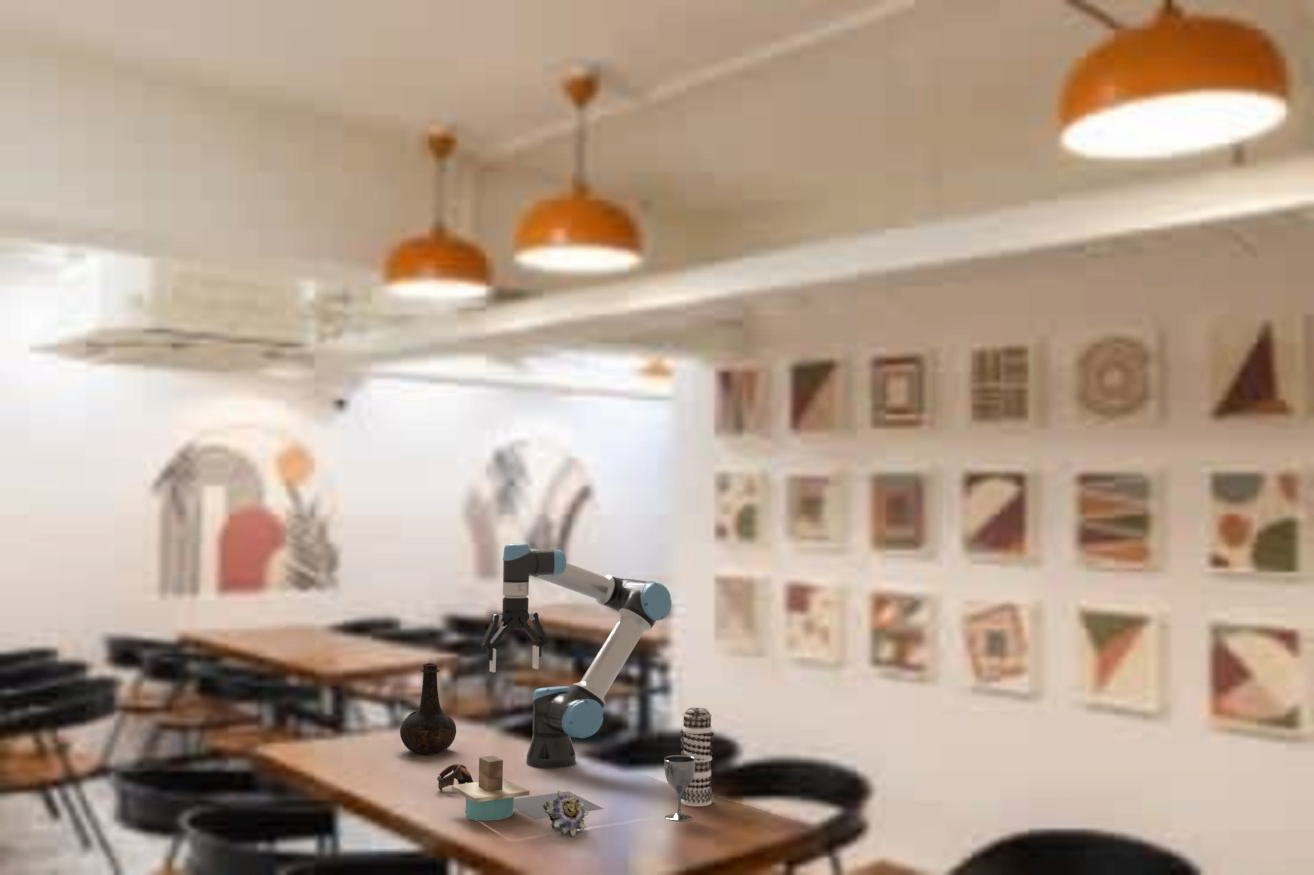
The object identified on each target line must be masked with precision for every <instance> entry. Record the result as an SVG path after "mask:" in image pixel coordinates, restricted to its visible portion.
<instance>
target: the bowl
mask: <svg viewBox="0 0 1314 875" xmlns="http://www.w3.org/2000/svg"><path fill="white" fill-rule="evenodd" d="M514 799H515V797H511V798H504V799H497V800H490V801H483V802H476V803H475V802H473V801H471V800H470V799H468V798H466V797H465V817H466V819H468V818H469V819H470V820H469V819H468V820H469V821H472V820H477V821H481V822H480V823H483V821H499V820H504V819H508V818H510V817H512V816H513V815H514ZM477 821H476V822H477Z"/></svg>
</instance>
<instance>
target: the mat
mask: <svg viewBox="0 0 1314 875" xmlns="http://www.w3.org/2000/svg"><path fill="white" fill-rule="evenodd" d="M561 792H562V791H561ZM557 793H558V792H553V793H548V794H547V793H546V794H540V795H533V796H532V795H531V796H527V797H525V796H523V797H518V798H517V797H516V798H514V808H515V809H516V810H518V811H519V812H521V813H523V814H524V815H527V816H529V817H530V818H532V819H533V820H538V819H545V818H550V816H549V815H548V813H546V812H545V811H546V810H545V809H544V808H543V805H544V804H545V806H546V801H549V802H552V803H551V804H549V806H550V807H552V806H553V801H554V800H556V798H557ZM562 794H563V795H564V796H565V794H566V795H567V798H568V797H569V796H570V795H572V794H574V798H575V801H576V800H577V799H578V800H579V803H583V804H584V806H583V809H584V810H585V811H589V812H591V811H598V810H603V809H604V808H603V807H601V806H599V805H598V804H595V803H593V802H592V801H589V800H587V799H585V798H584V797H581V796H579V795H577V794H575V793H572V792H571V791H563V792H562ZM548 808H549V807H547V809H548Z"/></svg>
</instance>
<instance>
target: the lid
mask: <svg viewBox="0 0 1314 875" xmlns="http://www.w3.org/2000/svg"><path fill="white" fill-rule="evenodd" d="M503 771H504V760H503V759H501V758H499V757H497V756H495V755H487V756H485V755H484V756H480V757H478V781H473V783H465V784H454V785H451V790H452V791H454V792H456V793H458V794H459V795H460V796H461V795H462V796H463V797H465V799H466V798H468V799H470V800H471V801H473V802H475V803H476V802H483V801H490V800H497V799H504V798H511V797H514V798H517V797H518V798H519V797H525V796H530V790H529V789H526V788H524V787H522V786H521V785H518V783H514V782H513V781H511V780H509V779H507V778H503V776H504V774H503V773H504V772H503Z"/></svg>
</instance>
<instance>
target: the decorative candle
mask: <svg viewBox="0 0 1314 875" xmlns="http://www.w3.org/2000/svg"><path fill="white" fill-rule="evenodd" d="M682 716H683V725H682V729H681V731H679V734H680V736H682V737H681V738H680V740H679V742H680V743H681V744H680V748H681V749H682V750H681V752H680V755H685V756H691V757H694V758H695V770H694V776H693V780H692V782H691V783H690V784H689V786H688V787H687V788H686V789H685V790H684V792H683V794H682V798H681V805H683V806H684V805H685V806H689V807H706V806H710V805H711V804H712V802H713V801H712V797H713V794H712V793H713V789H712V785H713V783H712V780H713V776H712V769H711V761H712V760H713V757H712V755H713V754H714V752H713V751H712V750H713V749H714V746H713V745H712V744H711V743H712V742H714V738H713V737H714V736H715V733H714V732H713V731H712V728H713V726H712V724H711V723H712V717H713V715H712V714H711V713H710V711H709V710H708V709H707V708H705V707H704V708H703V707H690V708H687V709H686V711H685V712H684V713H682Z"/></svg>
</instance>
